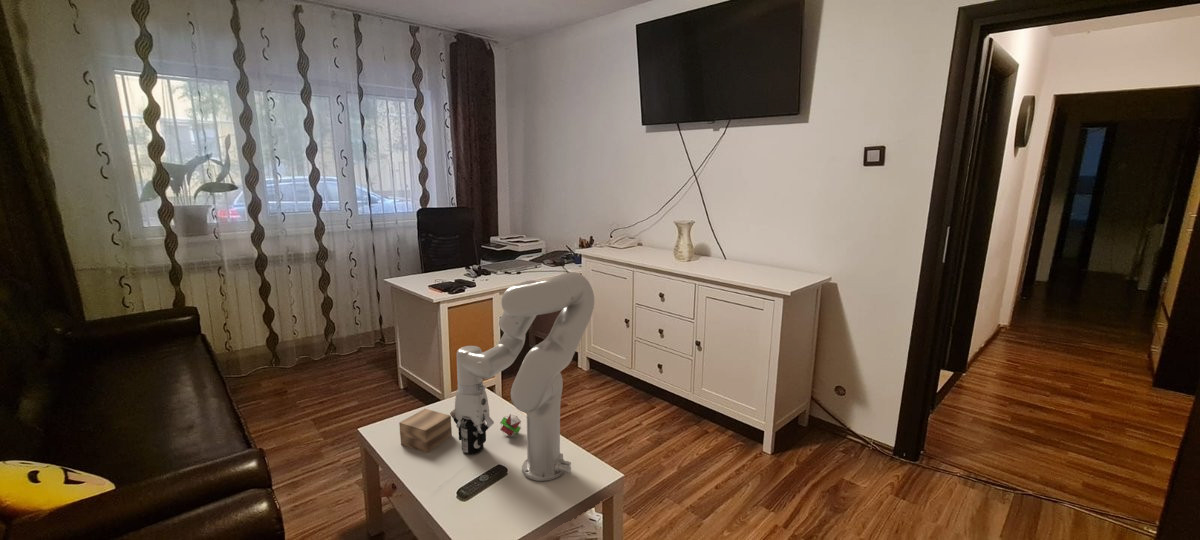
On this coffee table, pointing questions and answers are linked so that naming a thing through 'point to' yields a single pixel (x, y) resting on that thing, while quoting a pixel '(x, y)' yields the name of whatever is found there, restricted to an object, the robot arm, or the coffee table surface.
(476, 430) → the beverage can
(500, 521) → the coffee table surface
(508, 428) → the geometric puzzle
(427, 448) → the walnut block lower
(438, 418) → the walnut block upper
